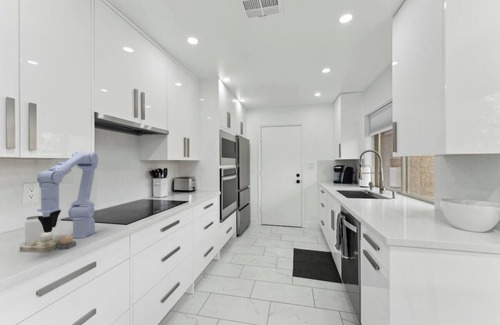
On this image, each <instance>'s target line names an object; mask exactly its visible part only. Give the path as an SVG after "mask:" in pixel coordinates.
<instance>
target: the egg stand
mask: <svg viewBox="0 0 500 325" xmlns="http://www.w3.org/2000/svg"><path fill="white" fill-rule="evenodd" d="M75 246H77V241H76V240H74V241H73V240H72V242H71V243H70V244H67V245H63V244H61V243H60V244H58V245H57V248H56V250H69V249H71V248H73V247H75Z"/></svg>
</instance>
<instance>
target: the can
mask: <svg viewBox="0 0 500 325" xmlns="http://www.w3.org/2000/svg"><path fill="white" fill-rule="evenodd" d="M39 216H40V215H33V216H29V217H26V219H25V221H24V243H25V245H28V244H30V243H33V242H36V241H39V240H41V239H40V236H41V235H42V234H43V233H45V232H44V230H43V226H42V224H41V222H40V221H39V220H38V217H39Z"/></svg>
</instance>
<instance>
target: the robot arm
mask: <svg viewBox="0 0 500 325" xmlns="http://www.w3.org/2000/svg"><path fill="white" fill-rule="evenodd" d="M98 162H99V157H98V154H97V153H96V152H78V151H75V152H74V153H72V154H71V157H70V158H69V159H68V160H66V161H64V162H62V161H61V162H60V161H59V162H57V164H55V165H54V166H53V167H50V168H49V169H47V170H42V171H41V172H39V173H38V174H37V177H36V181H37V183H38V185H39V186H38V187H39V188H40V208H38V209H37V212H41V213H42V215H38V216H39V217H38V220H39V221H40V222H41V224H42V226H43V230H44V233H48V232H51V233H52V231H53V228H57V227H56V226H57V224H58V219H59V216H60V214H61V212H62V209H61V208H60V183H62V182H63V179H64V177H65V176H67V175H68V174H70V173H71V171H72V168H74V167H77V168H78V169H81V170H82V174H81V178H80V185H79V189H78V194H77V198H76V200H74V201H73V202H71V205H70V207H69V209H68V211H67V215H68V217H69V218H70V220H72V235H71V234H70V235H71V236H72V237H73V239H77V238H78V239H83V238H86V237H88V236H91V235H92V234H95V233H96V232H97V231H95V228H96V227H95V226H96V225H95V224H96V221H95V218H94V217H93V216H94V214H95V203H94V202H92V201H91V200H90V199H91V198H90V197H91V193H92V189H93V188H92V186H93V181H94V176H95V170H97V167H98V164H99V163H98Z"/></svg>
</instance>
